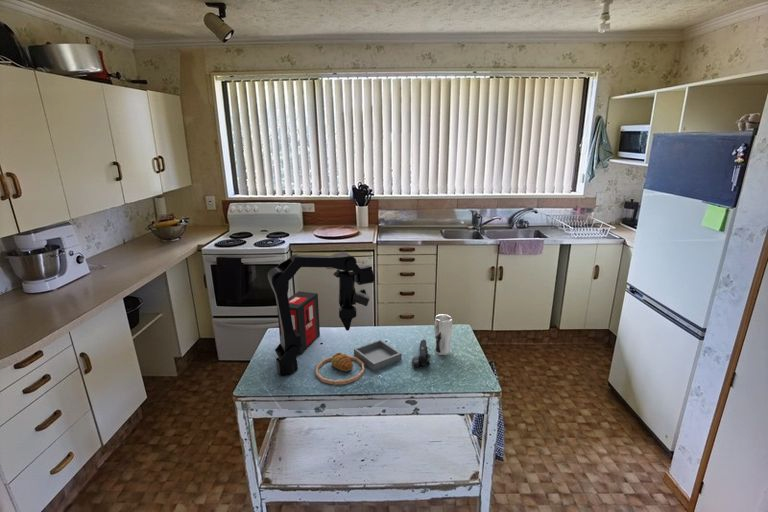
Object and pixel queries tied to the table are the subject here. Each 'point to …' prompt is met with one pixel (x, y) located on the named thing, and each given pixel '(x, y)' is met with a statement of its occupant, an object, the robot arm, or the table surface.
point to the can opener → (422, 356)
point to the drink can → (442, 334)
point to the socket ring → (339, 380)
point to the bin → (377, 355)
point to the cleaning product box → (304, 317)
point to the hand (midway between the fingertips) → (347, 325)
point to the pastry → (341, 362)
